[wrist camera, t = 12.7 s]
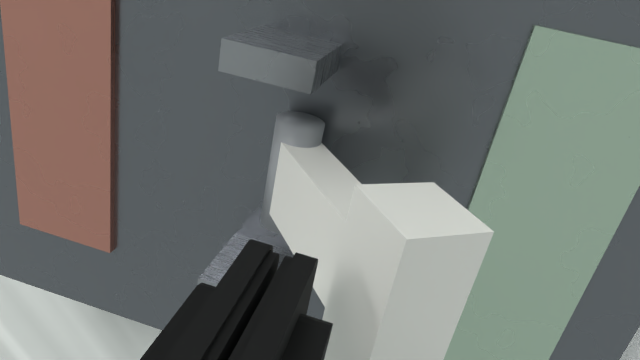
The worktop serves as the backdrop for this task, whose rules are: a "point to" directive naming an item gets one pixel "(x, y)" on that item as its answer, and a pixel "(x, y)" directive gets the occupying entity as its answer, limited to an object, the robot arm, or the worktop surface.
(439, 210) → the toggle lever
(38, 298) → the worktop surface
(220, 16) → the breaker panel
